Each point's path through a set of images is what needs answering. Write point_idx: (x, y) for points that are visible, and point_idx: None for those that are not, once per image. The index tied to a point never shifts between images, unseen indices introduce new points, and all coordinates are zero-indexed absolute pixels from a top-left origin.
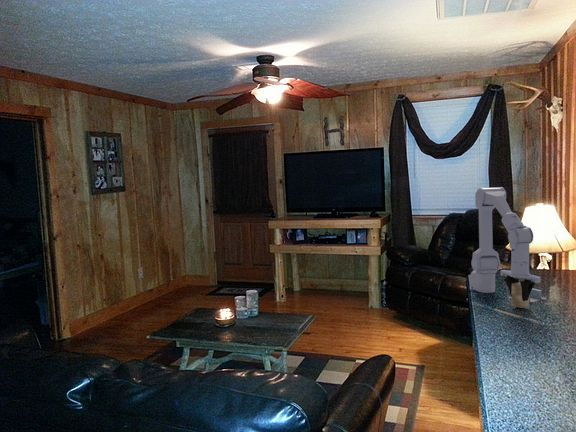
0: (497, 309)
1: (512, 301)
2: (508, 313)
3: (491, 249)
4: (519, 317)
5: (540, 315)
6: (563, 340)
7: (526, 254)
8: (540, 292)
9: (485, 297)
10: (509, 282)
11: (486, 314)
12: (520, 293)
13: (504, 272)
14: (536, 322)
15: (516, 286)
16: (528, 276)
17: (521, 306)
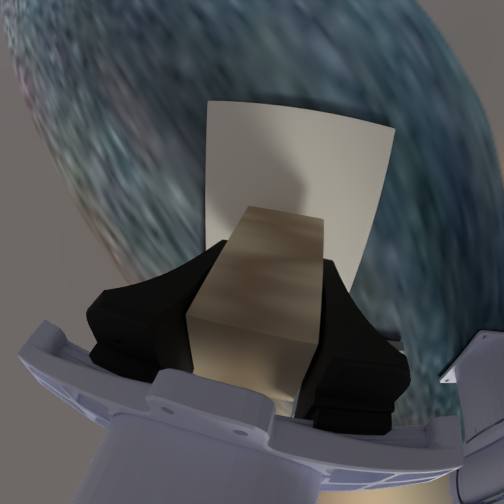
0: (380, 143)
1: (314, 230)
2: (285, 111)
3: None
4: (209, 106)
5: (187, 232)
6: (22, 57)
7: None
8: (293, 411)
9: (482, 320)
10: (336, 340)
11: (382, 34)
12: (226, 262)
13: (419, 459)
14: (132, 121)
15: (257, 314)
16: (61, 384)
17: (246, 211)
